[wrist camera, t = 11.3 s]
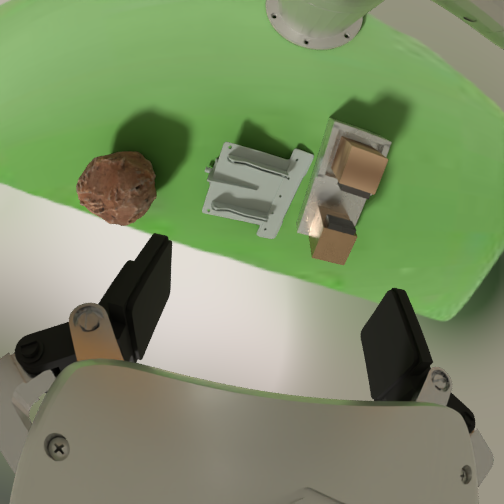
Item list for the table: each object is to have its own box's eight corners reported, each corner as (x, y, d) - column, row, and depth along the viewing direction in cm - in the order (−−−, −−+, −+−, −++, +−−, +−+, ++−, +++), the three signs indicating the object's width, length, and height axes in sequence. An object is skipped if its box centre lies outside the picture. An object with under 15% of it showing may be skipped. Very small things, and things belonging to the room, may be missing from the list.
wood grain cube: (341, 135, 32) (352, 145, 27) (373, 147, 32) (388, 159, 27) (329, 173, 35) (336, 189, 30) (359, 182, 35) (372, 200, 31)
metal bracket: (192, 229, 39) (224, 129, 31) (192, 208, 44) (221, 119, 35) (282, 246, 44) (325, 162, 36) (274, 226, 49) (310, 148, 40)
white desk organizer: (329, 117, 34) (342, 126, 26) (381, 135, 34) (405, 151, 27) (296, 222, 43) (298, 255, 36) (343, 234, 44) (354, 269, 36)
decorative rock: (174, 153, 39) (146, 176, 31) (163, 217, 45) (138, 250, 37) (102, 137, 38) (64, 156, 29) (98, 197, 44) (66, 225, 36)
